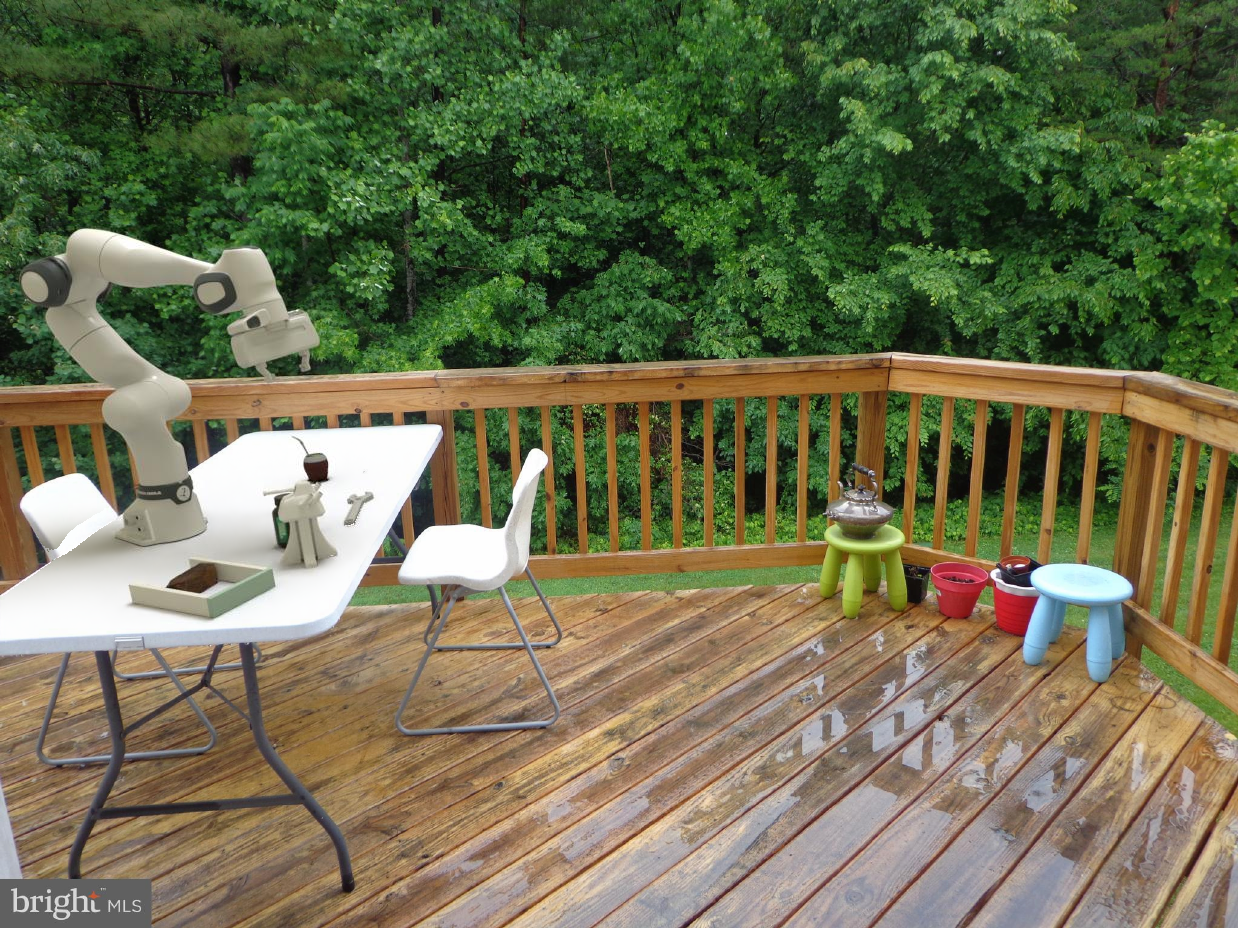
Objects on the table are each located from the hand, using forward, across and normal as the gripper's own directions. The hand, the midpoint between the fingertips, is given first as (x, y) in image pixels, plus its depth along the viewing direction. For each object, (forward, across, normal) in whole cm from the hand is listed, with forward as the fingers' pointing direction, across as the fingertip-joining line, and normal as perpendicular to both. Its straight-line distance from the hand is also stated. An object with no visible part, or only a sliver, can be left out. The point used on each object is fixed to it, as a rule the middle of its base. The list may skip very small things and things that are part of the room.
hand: (289, 376), depth 196 cm
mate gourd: (+34, -31, -51) cm, 69 cm away
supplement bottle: (+38, +8, -12) cm, 41 cm away
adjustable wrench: (+40, -16, -18) cm, 47 cm away
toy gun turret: (+40, +13, 0) cm, 42 cm away
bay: (+37, +36, -3) cm, 51 cm away
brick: (+36, +36, -6) cm, 51 cm away
